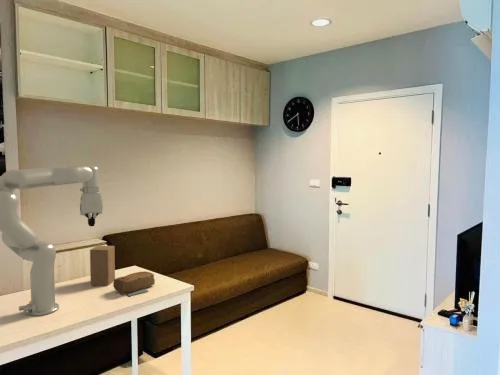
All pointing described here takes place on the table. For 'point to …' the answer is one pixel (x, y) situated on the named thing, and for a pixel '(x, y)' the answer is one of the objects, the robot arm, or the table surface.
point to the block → (133, 282)
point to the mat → (136, 292)
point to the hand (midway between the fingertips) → (91, 225)
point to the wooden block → (102, 265)
